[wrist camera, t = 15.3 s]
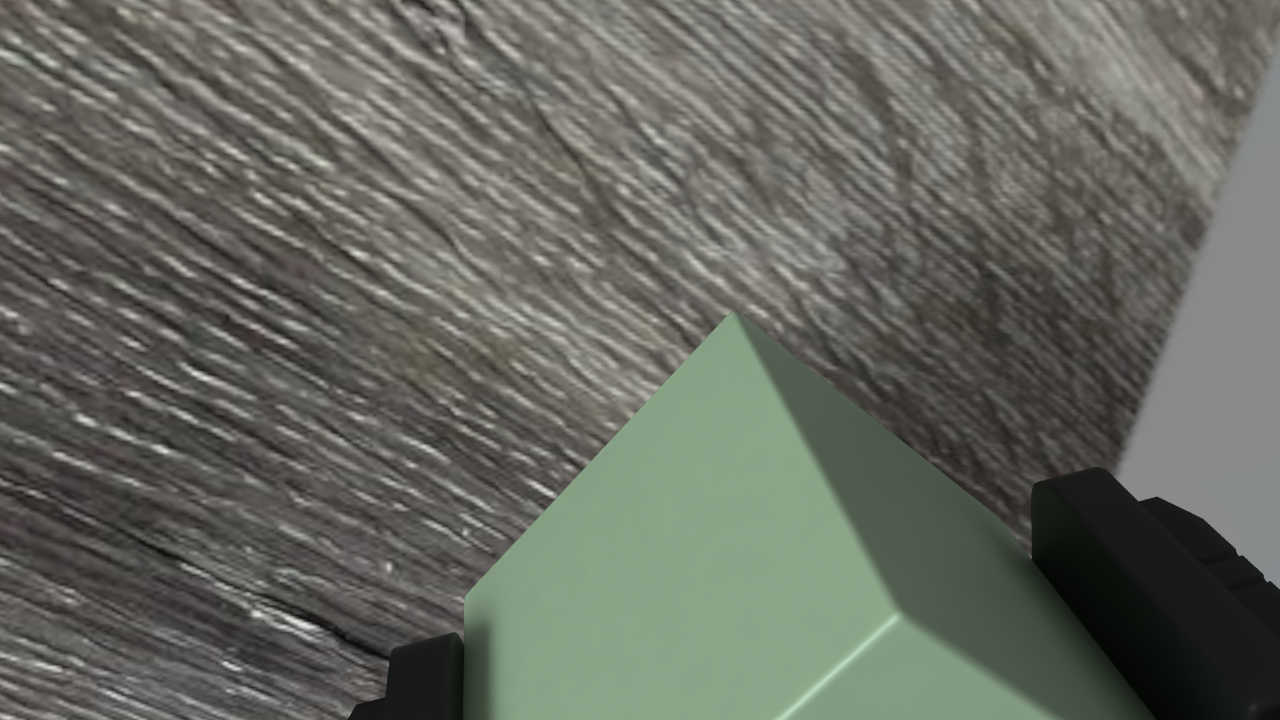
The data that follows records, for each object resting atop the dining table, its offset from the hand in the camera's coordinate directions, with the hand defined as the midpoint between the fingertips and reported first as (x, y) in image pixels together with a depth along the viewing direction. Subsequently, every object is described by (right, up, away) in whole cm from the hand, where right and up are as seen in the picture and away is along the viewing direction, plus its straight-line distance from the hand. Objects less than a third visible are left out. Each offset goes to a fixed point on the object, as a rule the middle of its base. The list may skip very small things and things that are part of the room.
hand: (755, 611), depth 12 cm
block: (0, +1, +1) cm, 1 cm away
